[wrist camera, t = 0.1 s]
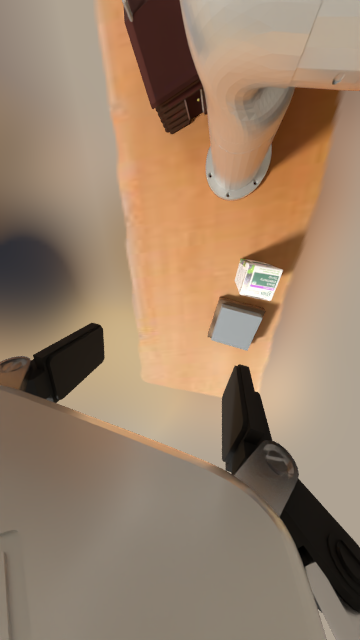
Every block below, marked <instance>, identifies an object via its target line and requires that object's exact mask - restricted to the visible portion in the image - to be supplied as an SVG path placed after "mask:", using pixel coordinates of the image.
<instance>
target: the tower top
mask: <svg viewBox="0 0 360 640" xmlns="http://www.w3.org/2000/svg"><path fill="white" fill-rule="evenodd" d="M261 321H262V316H261V315H260V314H259V313H255V312H251V311H248V310H244V309H240V308H236V307H232V306H229V305H225V304H222V306H221V309H220V312H219V315H218V318H217V321H216V324H215V327H214V330H213V333H212V338H211V340H213V341H216V342H220V343H223V344H226V345H230V346H233V347H237V348H240V349H243V350H248V348H249V346H250V344H251V342H252V340H253V337H254V335H255V333H256V331H257V329H258V327H259V325H260V323H261Z"/></svg>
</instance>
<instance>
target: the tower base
mask: <svg viewBox="0 0 360 640" xmlns="http://www.w3.org/2000/svg"><path fill="white" fill-rule="evenodd" d="M222 304H225V305H229V306H232V307H236V308H240V309H244V310H248V311H251V312H255V313H259V314H260V315H261V316H262V318H263V316H264V314H265V310H264V308H261V307H257V306H253V305H249V304H245V303H241V302H237V301H234V300H230V299H226V298H222V297H220V298H219V301H218V304H217V307H216V310H215V313H214V317H213V320H212V323H211V326H210V329H209V332H208V337H210V338H212V333H213V330H214V327H215V324H216V321H217V318H218V315H219V312H220V309H221V306H222Z"/></svg>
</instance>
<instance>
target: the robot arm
mask: <svg viewBox="0 0 360 640" xmlns="http://www.w3.org/2000/svg"><path fill="white" fill-rule="evenodd" d="M180 5H181V11H182V17H183V22H184V27H185V32H186V37H187V41H188V45H189V49H190V52H191V55H192V58H193V61H194V64H195V67H196V70H197V73H198V75H199V78H200V80H201V83H202V85H203V88H204V92H205V98H206V105H207V114H208V124H209V134H210V143H211V146H210V148H209V151H208V155H207V159H206V176H207V181H208V184H209V186H210V188H211V190H212V191H213V192H214V194H216V195H217V196H218V197H220V198H221V199H224V200H228V201H234V200H239V199H241V198H244V197H246V196H247V195H249V194H250V193H252V192H253V191H254V190H255V189H256V188H257V187H258V185H259V184H260V183H261V181H262V180H263V178H264V176H265V174H266V172H267V170H268V167H269V164H270V161H271V155H272V144H271V143H272V141H273V139H274V137H275V134H276V132H277V130H278V128H279V126H280V124H281V121H282V119H283V117H284V115H285V113H286V110H287V108H288V106H289V104H290V101H291V99H292V96H293V93H294V90H295V87H299V88H315V89H330V90H351V91H360V0H180ZM210 176H212V177H211V178H209V177H210ZM254 183H256V185H254ZM227 195H229V197H227ZM33 357H34V359H33V360H30V358H28V357H25V356H18V357H12V358H8V359H5V360H3V361H1V362H0V640H327V639H326V636H325V632H324V629H323V626H322V622H321V619H320V616H319V612H318V609H319V610H320V611H321V612H322V613H323V615H324V617H325V619H326V621H327V623H328V624H329V627H330V629H331V631H332V633H333V635H334V637H335V639H336V640H360V547H359V546H358V545H357V544H356V542H355V541H354V540H353V539H352V538H351V537H350V536H349V535H348V533H347V532H346V531H345V530H344V529H343V528H342V527H341V526H340V525H339V523H338V522H337V521H336V520H335V519H334V518H333V517H332V516H331V515H330V513H328V511H327V510H326V509H325V508H324V507H323V506H322V504H321V503H320V502H319V501H318V500H317V499H316V498H315V497H314V496H313V494H312V493H311V492H310V491H309V490H308V489H307V488H306V487H305V486H304V484H303V483H301V481H300V480H299V479H298V476H299V473H298V468H297V466H296V463H295V461H294V459H293V458H292V456H291V455H290V454H289V453H288V451H287V450H286V449H285V448H284V447H282V446H281V445H280V444H278V443H276V442H274V441H272V438H271V434H270V431H269V427H268V423H267V419H266V416H265V412H264V408H263V404H262V400H261V397H260V394H259V393H258V392H255V391H254V387H253V382H252V378H251V374H250V370H249V367H247V366H243V365H240V364H239V365H238V366H235V367H234V369H233V372H232V374H231V376H230V379H229V381H228V384H227V386H226V389H225V391H224V394H223V397H222V460H223V461H224V462H226V471H225V470H223V469H221V468H219V467H217V466H215V465H213V464H211V463H209V462H206V461H204V460H202V459H199V458H197V457H194V456H192V455H189V454H187V453H184V452H182V451H179V450H177V449H175V448H172V447H169V446H167V445H164V444H162V443H159V442H156V441H154V440H151V439H149V438H146V437H144V436H141V435H139V434H136V433H133V432H131V431H128V430H125V429H123V428H120V427H118V426H115V425H112V424H110V423H107V422H104V421H102V420H99V419H97V418H94V417H91V416H88V415H86V414H83V413H81V412H78V411H76V410H73V409H70V408H67V407H65V406H62V405H59V404H57V402H58V401H59V400H61V399H63V398H64V397H65V396H66V395H68V393H70V392H71V391H72V390H73V389H74V388H75V387H76V386H77V385H78V384H79V383H80V382H82V381H83V380H84V378H86V377H87V376H88V375H89V374H90V373H91V372H92V371H93V370H94V369H96V368H97V367H98V366H99V365H100V364H101V363H102V362H103V360H104V339H103V328H102V327H101V325H98V324H95V323H91V324H89V325H87V326H85V327H83V328H81V329H80V330H78V331H76V332H74V333H72V334H70V335H69V336H67V337H65V338H63V339H61V340H60V341H58V342H56V343H54V344H52V345H50V346H49V347H47V348H45V349H43V350H41V351H40V352H38V353H36V354H34V355H33ZM227 471H229V472H232V474H230V473H229V472H227Z"/></svg>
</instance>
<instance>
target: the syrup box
mask: <svg viewBox="0 0 360 640" xmlns="http://www.w3.org/2000/svg"><path fill="white" fill-rule="evenodd" d="M282 272H283V269H280V268H277V267H275V266H272V265H270V264H267V263H264V262H259V261H254V260H247V259H240V263H239V267H238V270H237V274H236V278H235V282H236V285H237V288H238V290H239V293H240V295H245V296H249V297H253V298H257V299H263V300H268V301H271V300H272V297H273V295H274V292H275V290H276V287H277V285H278V282H279V280H280V277H281V275H282Z"/></svg>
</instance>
